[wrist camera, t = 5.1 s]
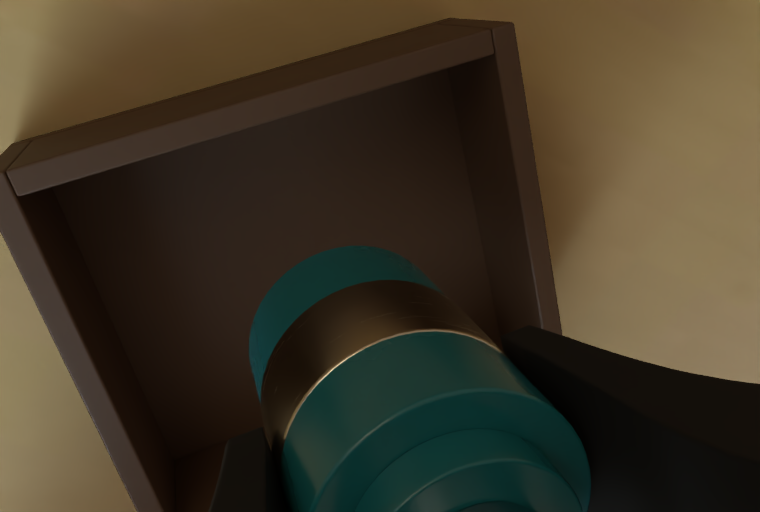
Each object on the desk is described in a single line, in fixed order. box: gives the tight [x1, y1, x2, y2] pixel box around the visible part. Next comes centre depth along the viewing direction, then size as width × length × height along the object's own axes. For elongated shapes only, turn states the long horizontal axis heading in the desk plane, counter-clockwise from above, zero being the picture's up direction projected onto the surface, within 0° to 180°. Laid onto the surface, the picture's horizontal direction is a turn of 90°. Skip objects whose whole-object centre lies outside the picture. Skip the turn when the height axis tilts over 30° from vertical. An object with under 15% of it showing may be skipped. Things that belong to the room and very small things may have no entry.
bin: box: [0, 18, 562, 512], centre depth 19 cm, size 12×11×4 cm
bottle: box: [249, 246, 591, 512], centre depth 12 cm, size 5×5×9 cm
